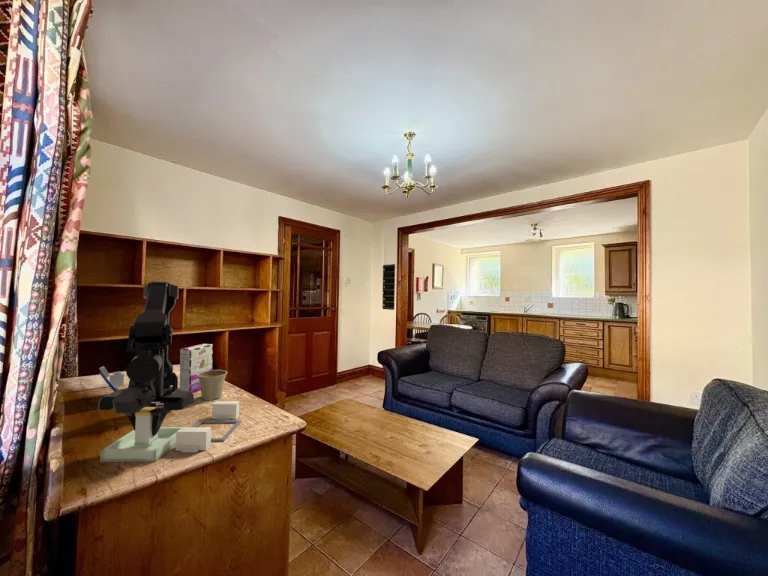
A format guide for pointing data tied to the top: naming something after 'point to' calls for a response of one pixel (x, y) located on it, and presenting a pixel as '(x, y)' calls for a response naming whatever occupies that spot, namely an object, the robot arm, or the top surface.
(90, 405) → the top surface
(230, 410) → the headphones
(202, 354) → the candy bar box
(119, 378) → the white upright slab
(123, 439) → the tray
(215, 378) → the flower pot
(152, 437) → the yellow-capped grey block
